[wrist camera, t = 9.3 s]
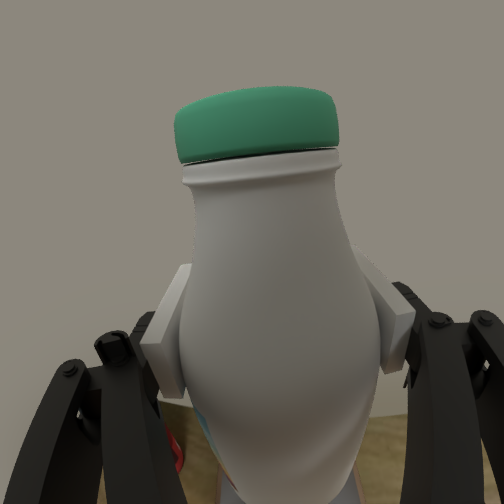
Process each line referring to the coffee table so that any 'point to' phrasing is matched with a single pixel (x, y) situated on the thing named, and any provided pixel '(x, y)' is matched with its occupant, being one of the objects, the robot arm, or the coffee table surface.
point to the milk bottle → (274, 296)
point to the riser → (348, 500)
